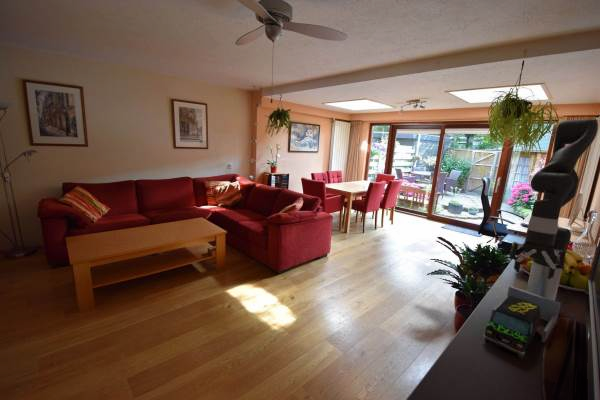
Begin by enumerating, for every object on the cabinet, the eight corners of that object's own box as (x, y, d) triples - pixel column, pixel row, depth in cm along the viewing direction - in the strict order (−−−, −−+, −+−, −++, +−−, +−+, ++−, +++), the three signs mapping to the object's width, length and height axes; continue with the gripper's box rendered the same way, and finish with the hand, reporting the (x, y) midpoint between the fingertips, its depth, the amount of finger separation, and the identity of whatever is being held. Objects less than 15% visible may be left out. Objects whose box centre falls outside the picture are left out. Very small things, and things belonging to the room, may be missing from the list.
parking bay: (506, 303, 111) (510, 285, 109) (556, 322, 99) (560, 303, 97) (490, 318, 99) (494, 299, 98) (544, 342, 87) (549, 320, 86)
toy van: (481, 342, 86) (486, 314, 84) (502, 315, 102) (507, 291, 100) (522, 362, 78) (529, 332, 76) (539, 330, 94) (545, 304, 92)
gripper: (565, 232, 92) (555, 277, 94) (513, 224, 99) (505, 266, 101) (573, 236, 86) (562, 284, 87) (518, 227, 93) (509, 272, 94)
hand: (532, 274), depth 94 cm, fingers open, 8 cm apart
